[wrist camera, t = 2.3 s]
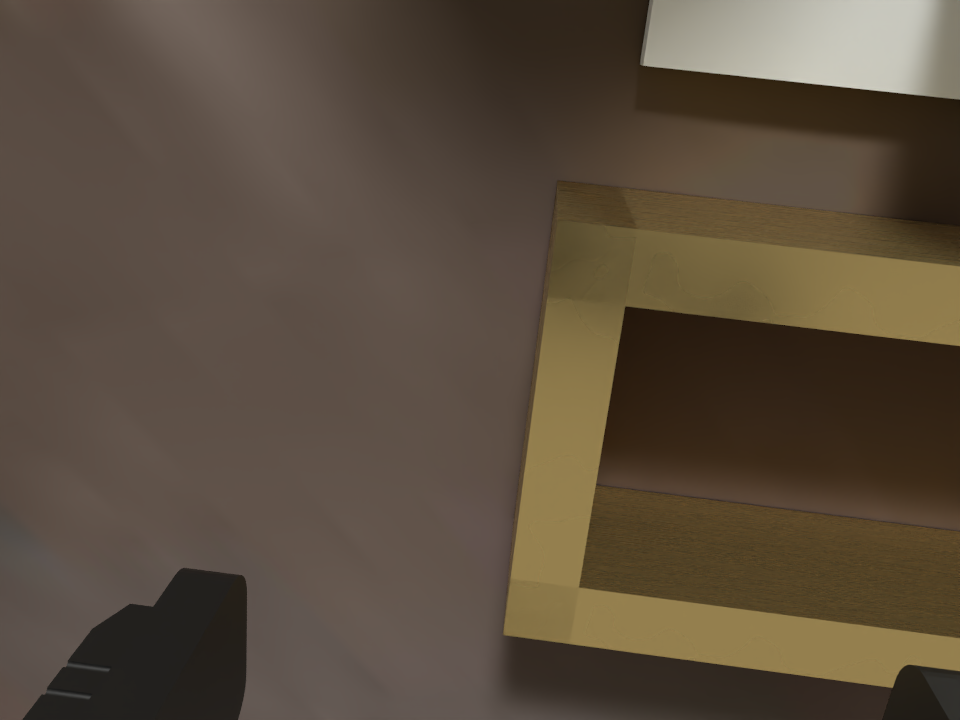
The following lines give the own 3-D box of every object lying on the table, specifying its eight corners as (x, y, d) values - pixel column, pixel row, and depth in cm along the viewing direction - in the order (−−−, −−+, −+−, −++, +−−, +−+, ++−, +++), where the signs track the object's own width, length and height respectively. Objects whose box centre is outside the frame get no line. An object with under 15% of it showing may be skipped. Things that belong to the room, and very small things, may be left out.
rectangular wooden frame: (1243, 258, 19) (1440, 321, 15) (1101, 600, 22) (1230, 733, 18) (557, 180, 20) (557, 220, 15) (513, 523, 23) (502, 634, 18)
